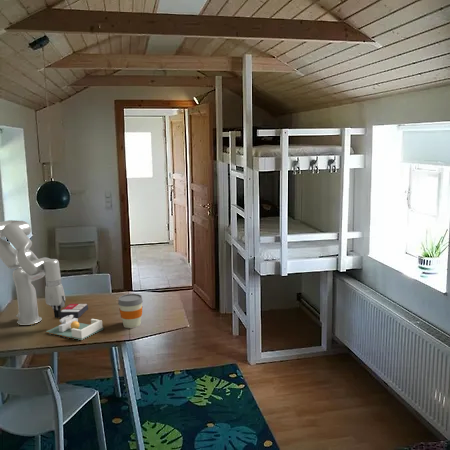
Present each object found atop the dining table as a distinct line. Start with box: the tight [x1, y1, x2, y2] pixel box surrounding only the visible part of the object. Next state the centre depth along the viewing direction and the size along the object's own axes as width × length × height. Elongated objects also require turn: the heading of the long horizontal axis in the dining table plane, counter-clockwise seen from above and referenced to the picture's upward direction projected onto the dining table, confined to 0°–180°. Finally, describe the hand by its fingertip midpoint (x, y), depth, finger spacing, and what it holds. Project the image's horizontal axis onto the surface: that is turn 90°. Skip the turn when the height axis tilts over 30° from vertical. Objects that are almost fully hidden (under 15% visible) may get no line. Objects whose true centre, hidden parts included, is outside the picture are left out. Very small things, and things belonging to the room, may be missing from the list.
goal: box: [71, 318, 104, 339], centre depth 244 cm, size 6×15×4 cm, turn 153°
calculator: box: [59, 303, 89, 319], centre depth 274 cm, size 11×4×15 cm
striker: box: [58, 315, 79, 332], centre depth 249 cm, size 4×11×6 cm, turn 153°
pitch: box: [45, 322, 104, 341], centre depth 248 cm, size 24×16×1 cm, turn 63°
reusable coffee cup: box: [117, 293, 144, 329], centre depth 253 cm, size 13×13×15 cm
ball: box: [71, 321, 80, 329], centre depth 247 cm, size 4×4×4 cm
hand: (58, 316), depth 252 cm, fingers closed
